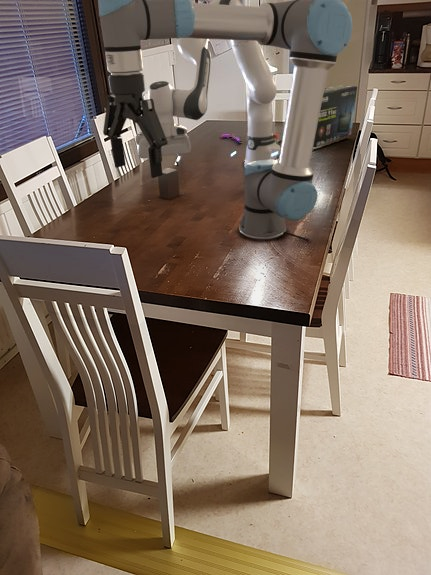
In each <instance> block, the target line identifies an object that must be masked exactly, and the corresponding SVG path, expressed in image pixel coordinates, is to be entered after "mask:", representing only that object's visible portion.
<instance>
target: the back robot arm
mask: <svg viewBox="0 0 431 575" xmlns="http://www.w3.org/2000/svg"><path fill="white" fill-rule="evenodd" d="M208 4H220V5H236V6H244V4H243V2H242V1H241V0H212V1H210V2H209V3H208ZM176 39H177V38H176ZM208 42H209V39H193V38H179V39H177V41H176V47H177V50H178V52H179V54H180V55H181V56H182V58H184V59H185V60H186V61H188V62H189V63H191V64H193V65H195V73H194V81H193V87H192V88H191V89H179V88H175V87H173V86H171V84H170V82H168V81H166V80H160V81H155V82H152V83H151V84H150V85H149V86H148V91H147V99H153V101H154V106H155V111H156V113H157V116H158V118H159V121H160V124H161V126H162V129H163V131H164V134H165V136H166V139H167V142H168V144H167V145H164V146H162V147H161V153H162V157H167V156H177V159H176V160H174V165H175V167H180V166H181V163H180V162H181V160H182V159H183V155H186V154H190V153H191V151H192V144H191V140H190V137H189V135H188V128H186V127H185V126H183V125H181V124H177V123H175V119H174V117H175V118H182V119H189V120H193V121H199V120H200V119H202V118H203V116H204V115H206V113H207V112H208V93H209V92H208V91H209V84H210V75H211V67H212V66H211V65H212V54H211V51H210V49H208ZM229 43H230V46H231V48H232V51H233V53H234V57H235V61H236V63H237V66H238V69H239V70H240V72H241V74H242V77H243V80H244V81H245V97H246V98H245V100H246V112H247V134H246V148H245V156H244V157H245V158H244V161H245V162H244V161H243V163H244V165H243V167H244V168H245V166H246V165H247V164H248V163H250V162H253V161H259V160H279V156H280V150H281V145H279V143H277V144H276V140H279V136H280V135H279V134H277V133H273V130H274V129H273V125H274V123H273V122H274V114H273V106H272V102H273V101H274V100H275V99H276V96H277V91H278V90H277V85H276V82H275V79H274V77H273V73H272V72H271V69H270V66H269V64H268V62H267V60H266V57H265V55H264V52H263V49H262V45H259V44H258V43H257V41H250V40H229ZM275 139H276V140H275ZM160 140H161V139H160ZM154 142H155V141H154ZM135 143H136V145H137V146H136V148H137V150H136V151H137V153H136V154H137V156H138V157H139V158H140V159H147V161H148V162H149V163H150V160H149V151H148V148H149V147H150V145H149V143H148V141H147V140H146V138H145V136H144V135H143V133H142V131H140V132H138V133H137V134H136V135H135ZM235 154H237V151H234V152H232V153H231V154H230V157H233V156H234V155H235Z"/></svg>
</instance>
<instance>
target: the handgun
mask: <svg viewBox="0 0 431 575" xmlns="http://www.w3.org/2000/svg"><path fill="white" fill-rule="evenodd" d="M231 134H232V135H233V134H234V133H229V134H228V133H227V134H226V133H225V134H221V135H222V136H228V135H231ZM221 135H220V137H221V138H222V139H230V138H229V137H222V136H221ZM234 135H235V134H234ZM234 135H233V137H234V138H236V139H237V141H238V142H242V143H238V142H237V141H236V140H235V139H233V138H231V139H232V140H233V141H236V142H237V143H238V145H242V144H243V141H242V140H241V139H240V138H239V137H238V136H236V135H235V136H236V137H235V136H234Z"/></svg>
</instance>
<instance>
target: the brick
mask: <svg viewBox="0 0 431 575" xmlns="http://www.w3.org/2000/svg"><path fill="white" fill-rule="evenodd" d="M157 182H158V191H159V197H160V198H162V199H164V200H168V201H169V200H171V199H174V198H176V197H179V196H180V186H179V174H178V169H175V168H172V167H166V168H162V175H161V176H158V177H157Z"/></svg>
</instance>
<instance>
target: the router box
mask: <svg viewBox="0 0 431 575" xmlns="http://www.w3.org/2000/svg"><path fill="white" fill-rule="evenodd" d="M357 93H358V86H356V85H350V84H339V85H338V84H337V85H334V86H328V87H325V88H324V94H323V99H322V104H321V109H320V114H319V119H318V124H317V130H316V135H315V140H314V145H313V147H317V146H320V145H323V144H325V143H328V142H331V141H333V140H336V139H338V138H341V137H344V136H347V135H351V136H352V133H353V132H352V131H353V125H354V115H355V109H356V99H357Z"/></svg>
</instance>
